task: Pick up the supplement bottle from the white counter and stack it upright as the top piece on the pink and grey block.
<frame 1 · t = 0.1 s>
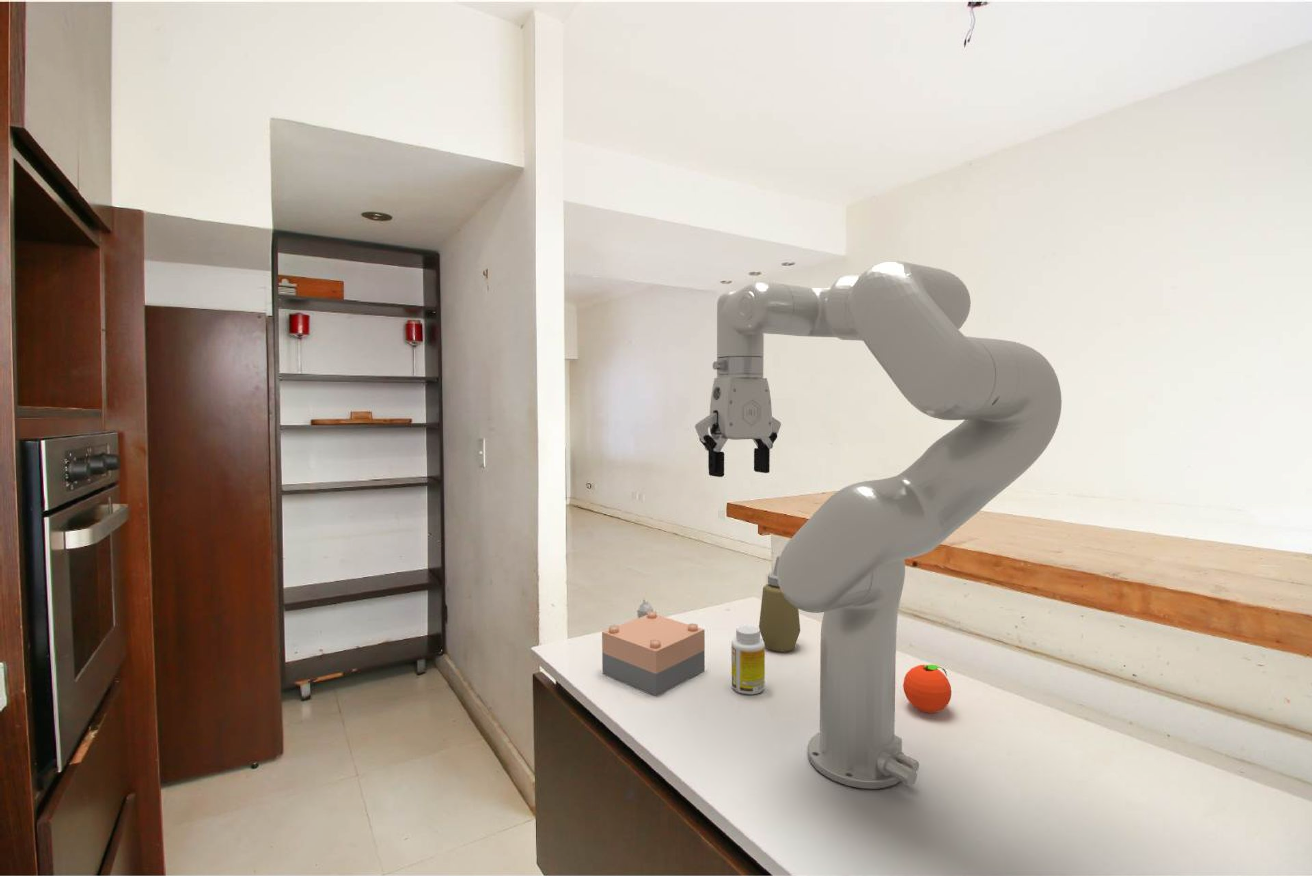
hand: (739, 474, 100), 37 cm above the worktop, tool pointing down, fingers open, 9 cm apart
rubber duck: (647, 637, 126), on the worktop
clementine: (928, 710, 96), on the worktop
pink and grey block: (653, 672, 109), on the worktop
squeeze bottle: (779, 647, 121), on the worktop
supplement bottle: (747, 689, 103), on the worktop
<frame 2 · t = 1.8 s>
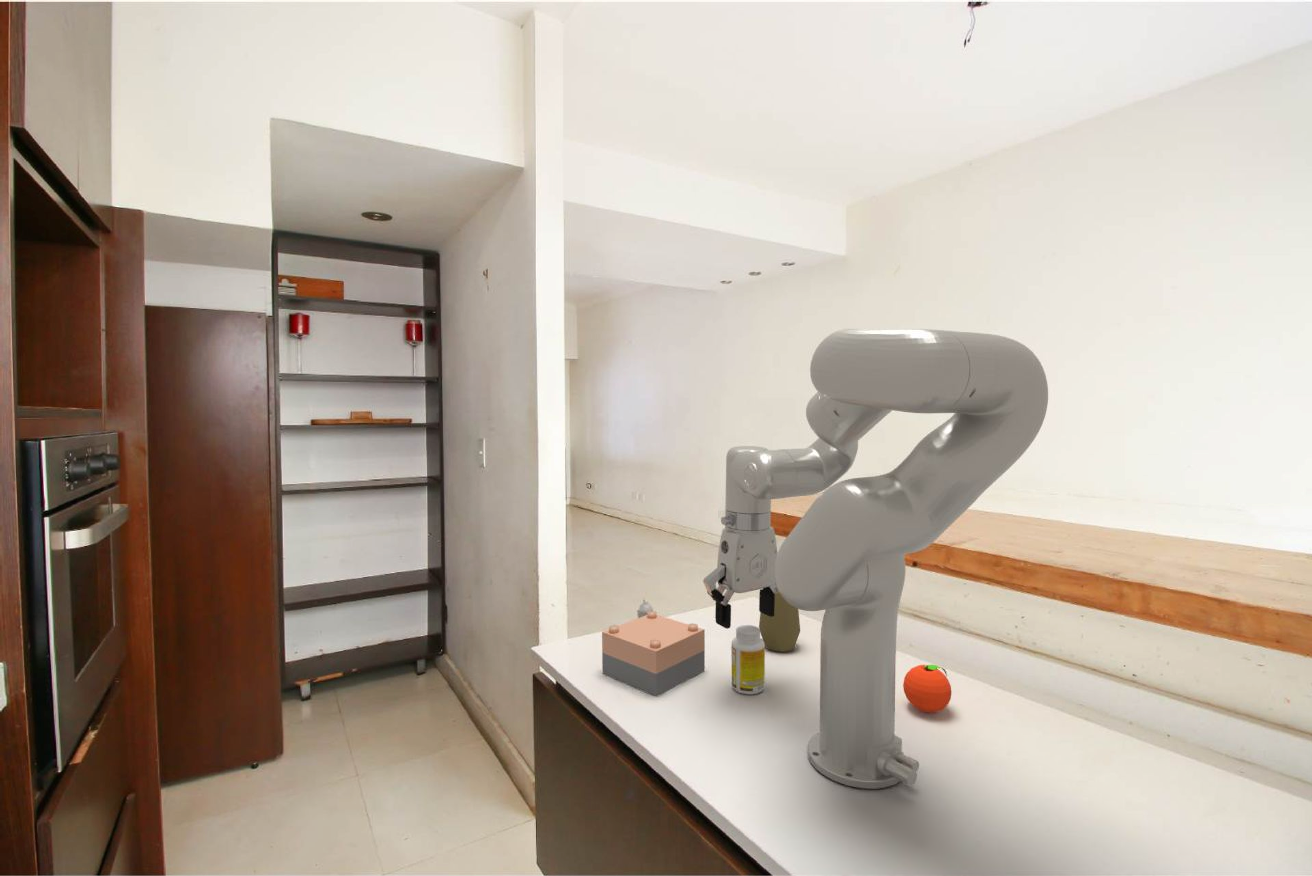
hand: (745, 619, 103), 12 cm above the worktop, tool pointing down, fingers open, 9 cm apart
nothing on the worktop moved.
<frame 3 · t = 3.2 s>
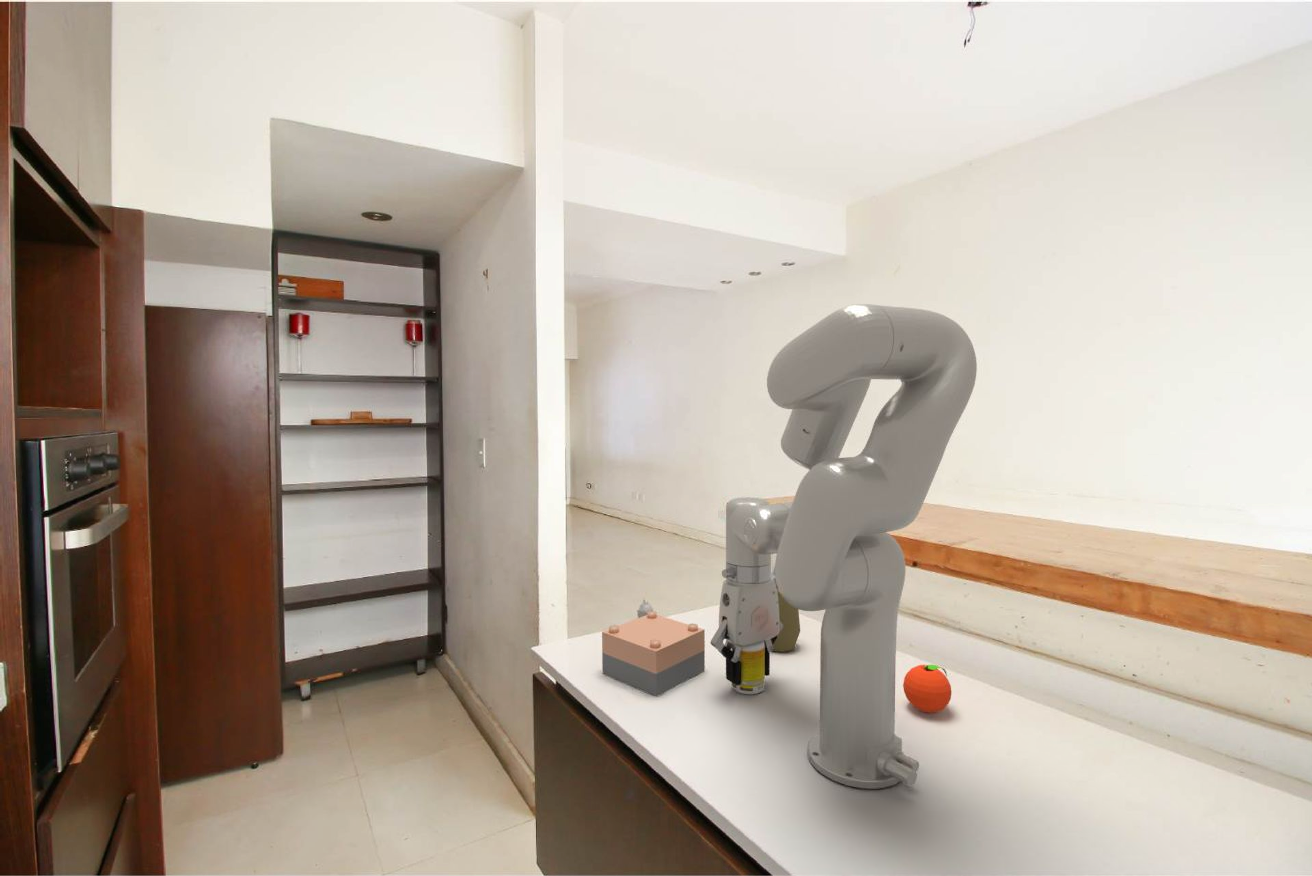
hand: (747, 676, 103), 2 cm above the worktop, tool pointing down, fingers closed on supplement bottle, 5 cm apart
supplement bottle: (747, 689, 103), on the worktop, touching gripper
everything else where it was.
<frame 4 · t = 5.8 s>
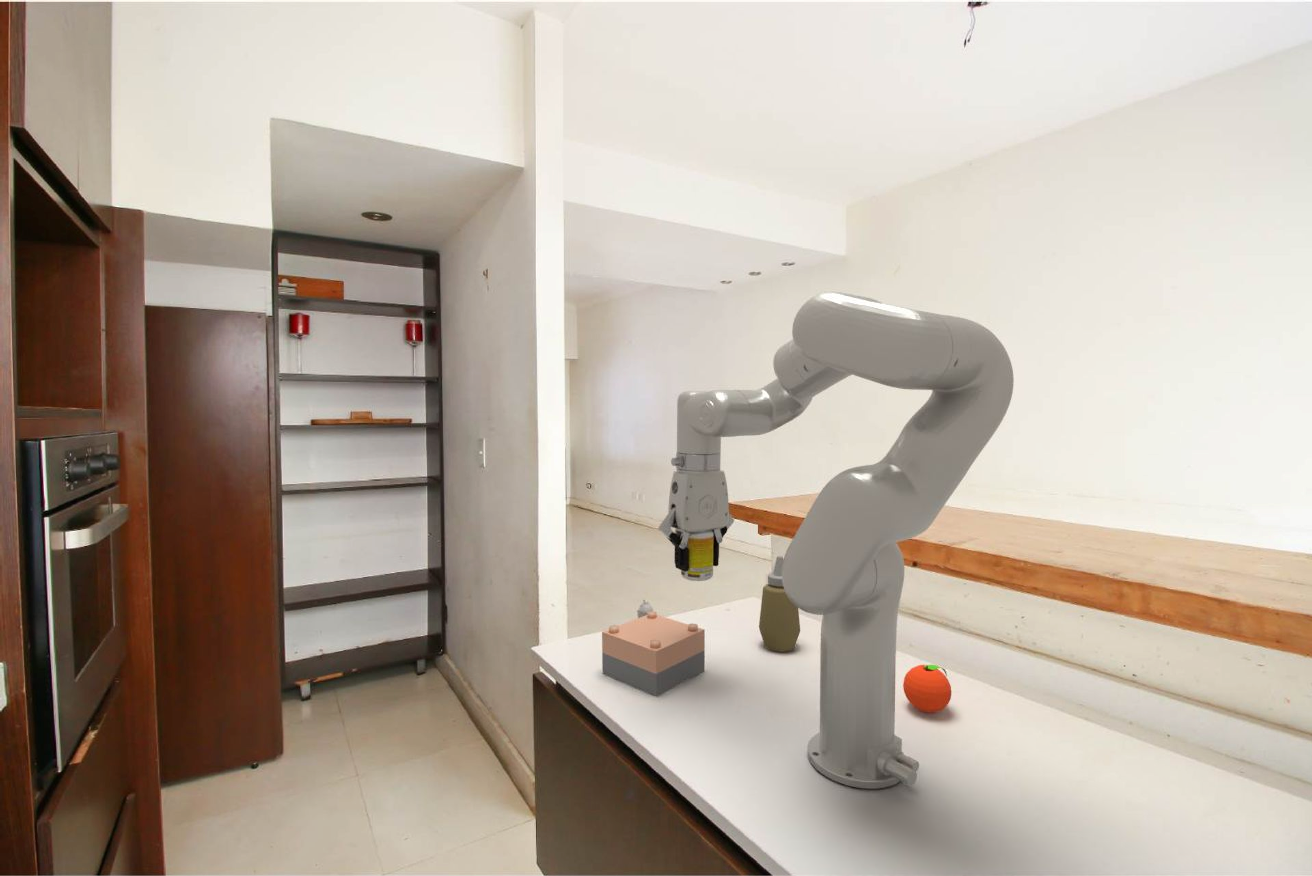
hand: (696, 565, 106), 20 cm above the worktop, tool pointing down, fingers closed on supplement bottle, 5 cm apart
supplement bottle: (696, 578, 106), point 18 cm above the worktop, touching gripper
everything else where it was.
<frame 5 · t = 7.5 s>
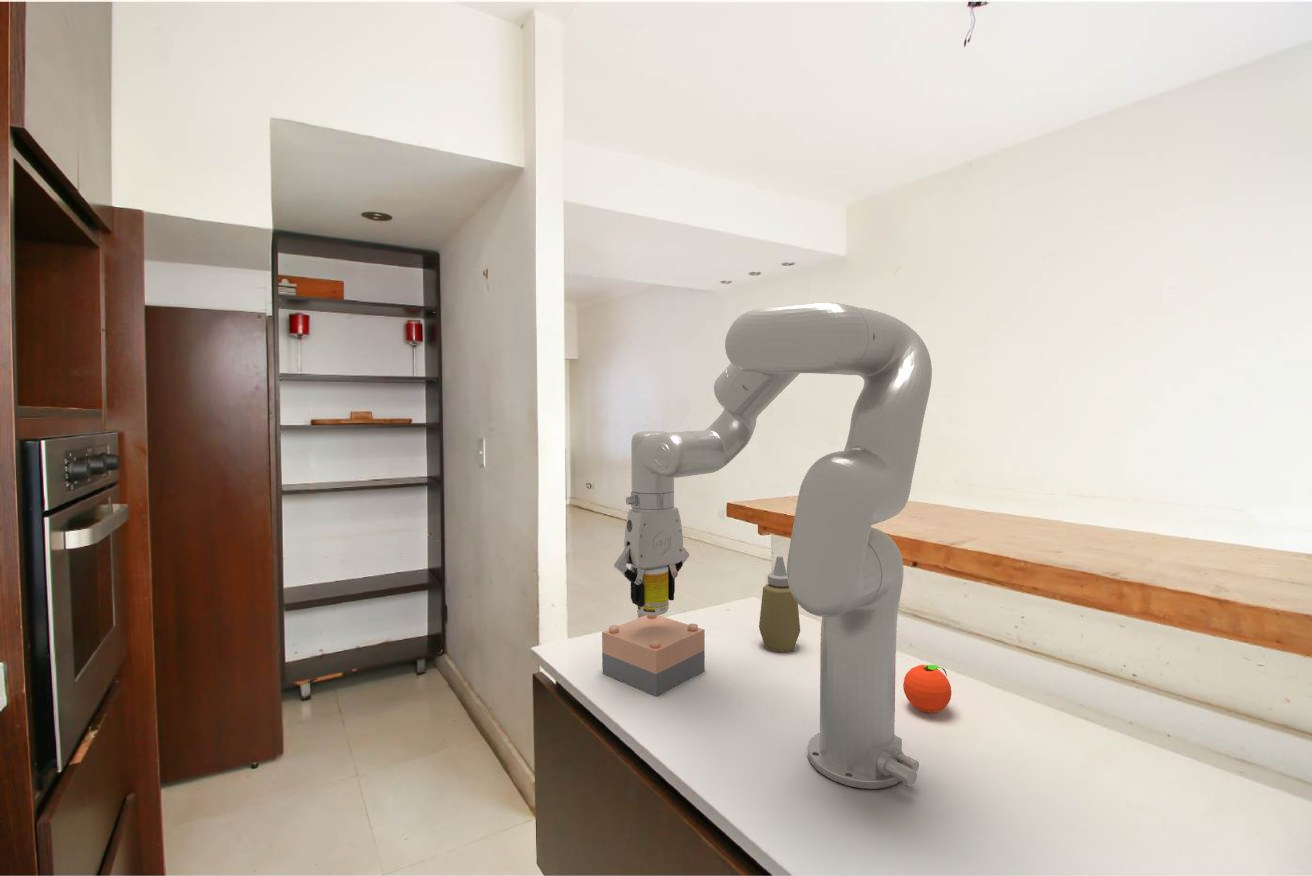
hand: (653, 600, 109), 13 cm above the worktop, tool pointing down, fingers closed on supplement bottle, 5 cm apart
supplement bottle: (652, 612, 109), point 11 cm above the worktop, touching gripper
everything else where it was.
when the fingers open (11 cm above the worktop, at t = 8.7 s): supplement bottle drops 1 cm, resting on pink and grey block.
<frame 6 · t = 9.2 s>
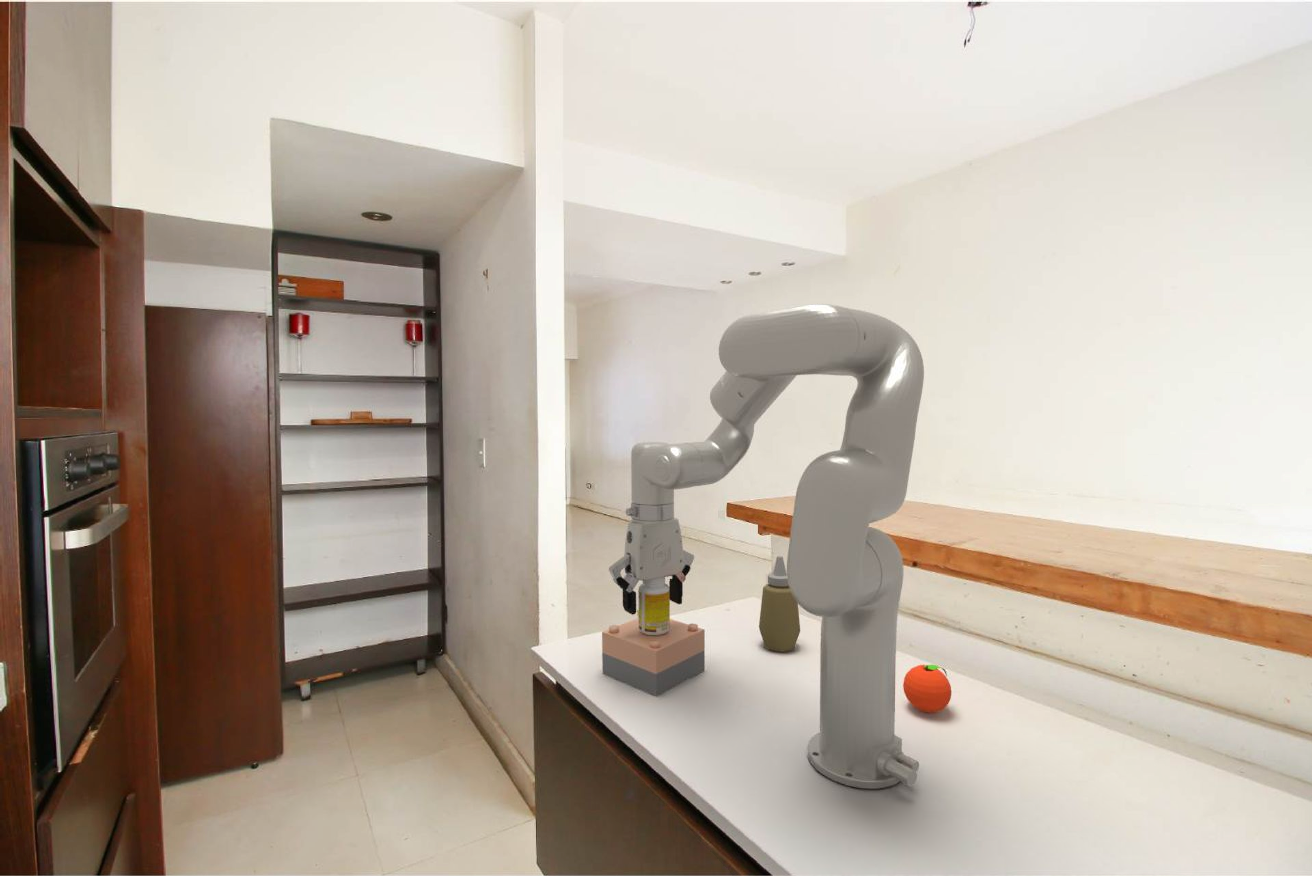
hand: (653, 607, 109), 12 cm above the worktop, tool pointing down, fingers open, 9 cm apart
supplement bottle: (654, 631, 109), point 7 cm above the worktop, touching pink and grey block
everything else where it was.
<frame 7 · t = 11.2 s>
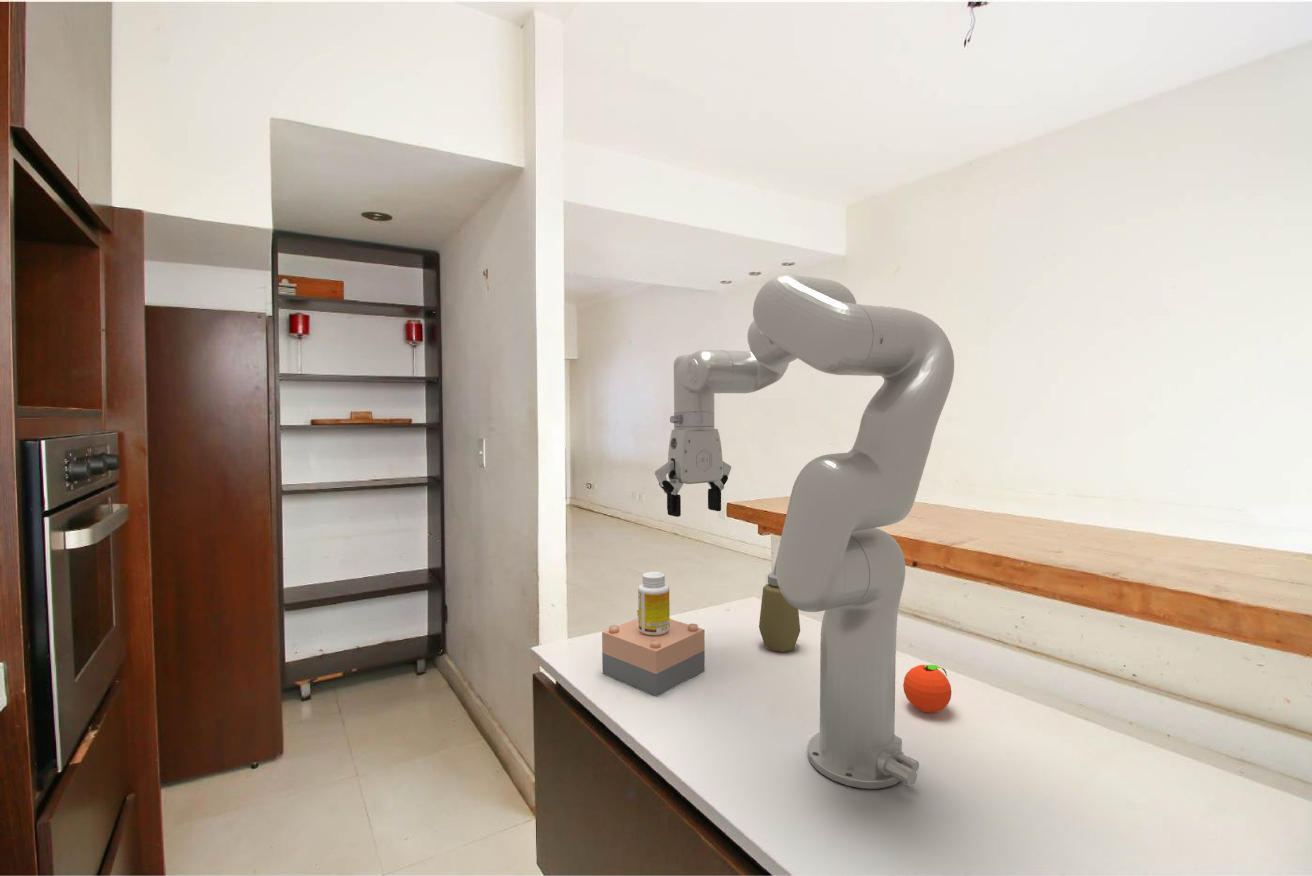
hand: (694, 512, 114), 28 cm above the worktop, tool pointing down, fingers open, 9 cm apart
nothing on the worktop moved.
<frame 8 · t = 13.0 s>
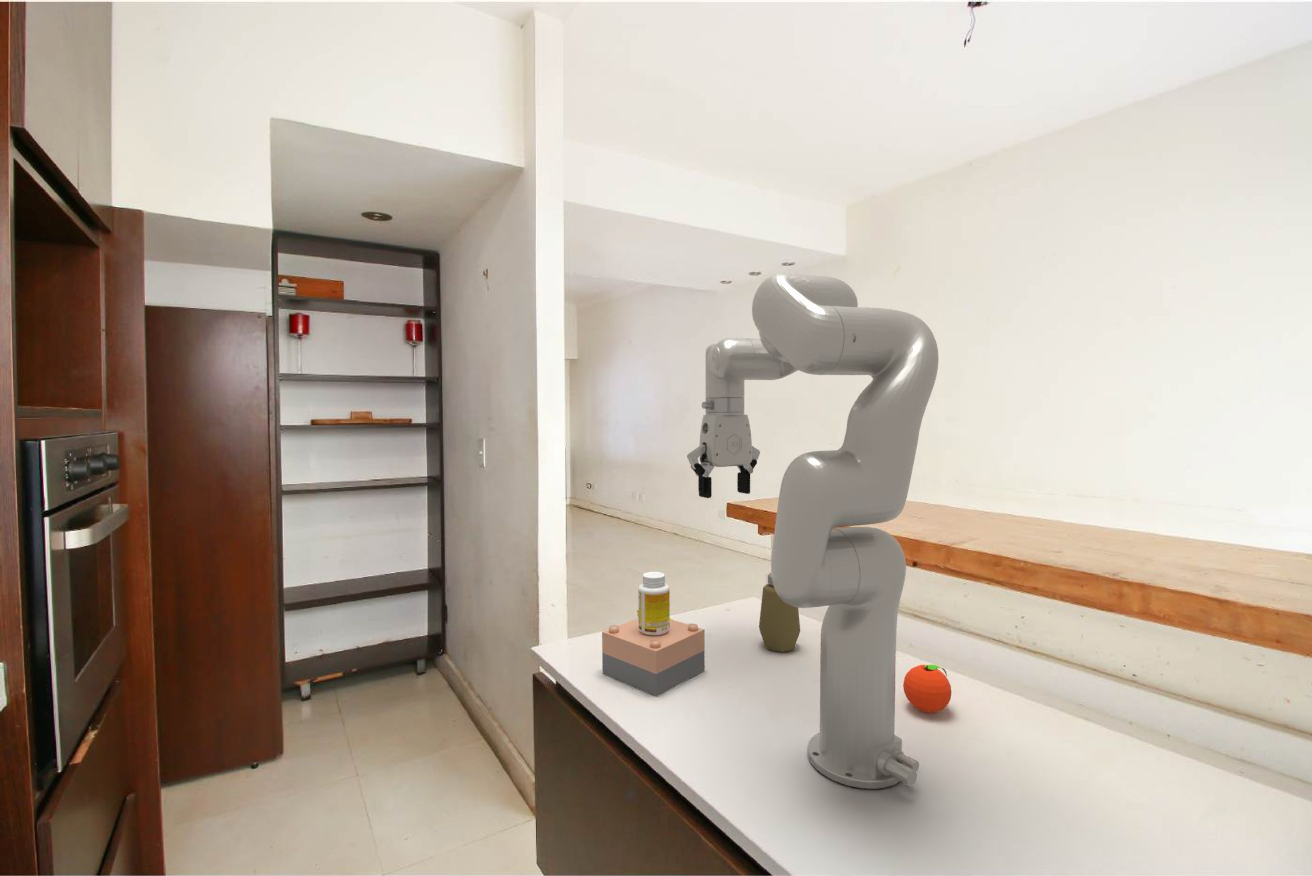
hand: (724, 495, 119), 30 cm above the worktop, tool pointing down, fingers open, 9 cm apart
nothing on the worktop moved.
at the end: supplement bottle 0.1 cm off-centre on the pink and grey block, point 7.4 cm above the pink and grey block's base; supplement bottle tilted 0°; the gripper is holding nothing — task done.
